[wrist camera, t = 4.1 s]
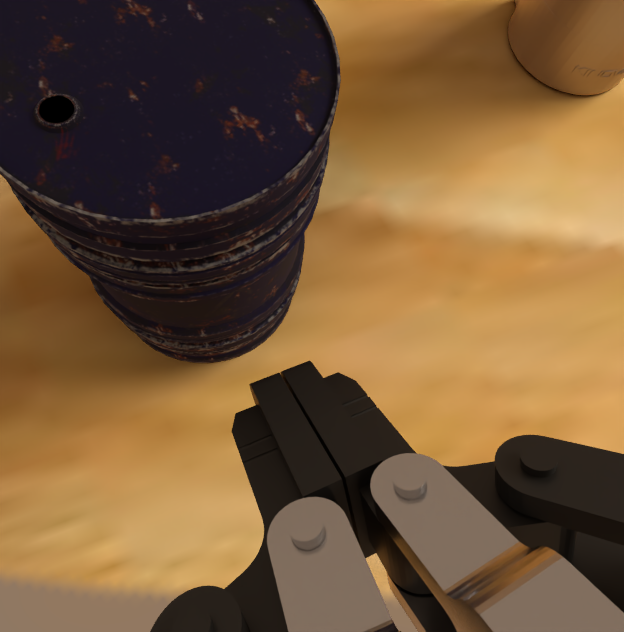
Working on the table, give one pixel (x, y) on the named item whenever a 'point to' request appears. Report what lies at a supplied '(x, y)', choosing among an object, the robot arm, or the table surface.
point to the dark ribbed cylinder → (172, 154)
